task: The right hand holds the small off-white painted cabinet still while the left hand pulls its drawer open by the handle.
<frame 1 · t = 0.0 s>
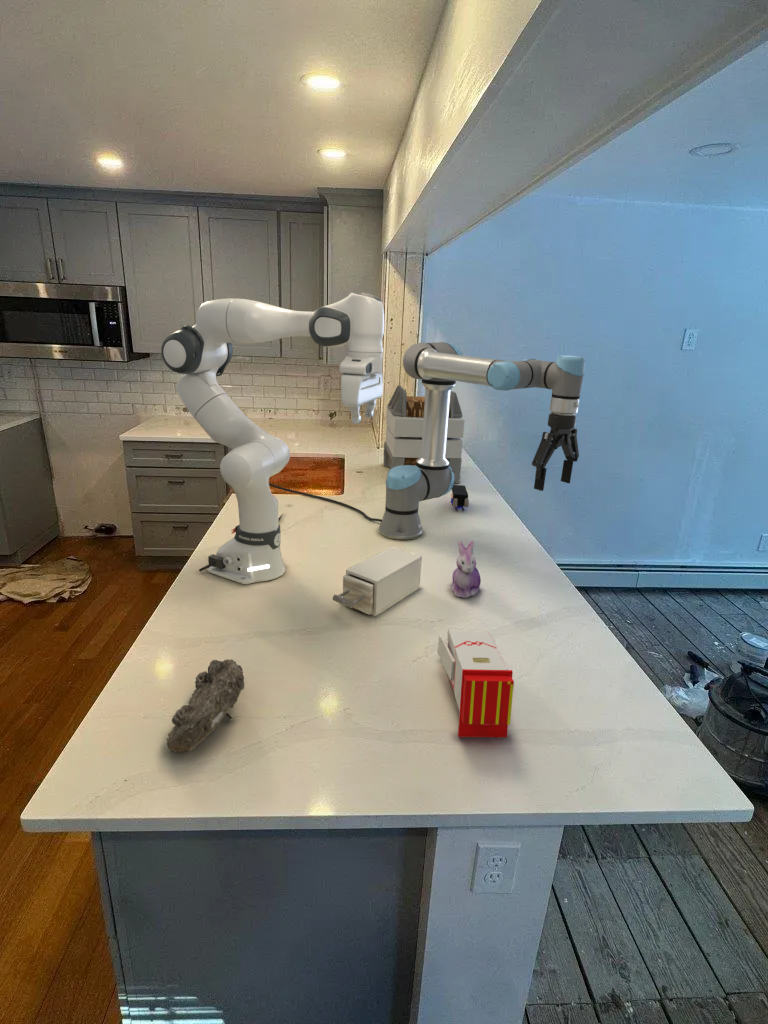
left hand: (362, 420, 143), 48 cm above the counter, tool pointing down, fingers open, 8 cm apart
right hand: (552, 485, 166), 28 cm above the counter, tool pointing down, fingers open, 13 cm apart
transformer: (419, 473, 275), on the counter
feather: (281, 517, 210), on the counter
figurine: (465, 591, 161), on the counter
figurine character: (458, 507, 230), on the counter
toy: (469, 691, 119), on the counter
cabinet: (383, 595, 157), on the counter
fossil: (212, 717, 108), on the counter
drawer: (372, 586, 151), point 5 cm above the counter, slide at 0.6 cm
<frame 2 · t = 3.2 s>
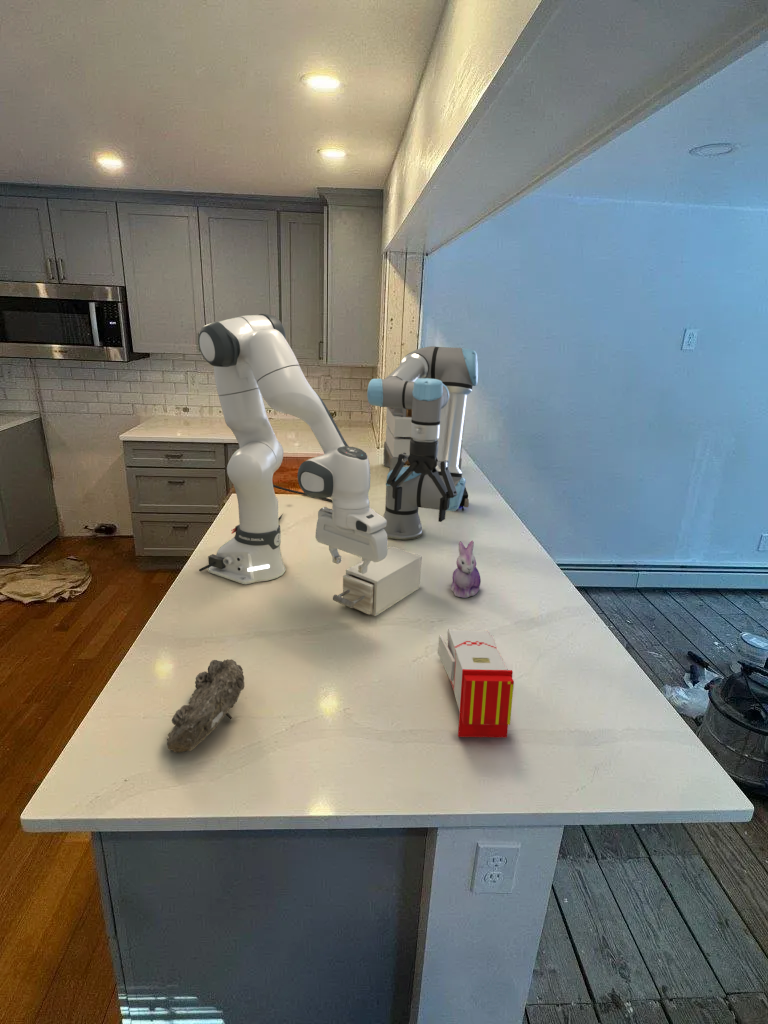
left hand: (349, 567, 140), 14 cm above the counter, tool pointing down, fingers open, 7 cm apart
right hand: (419, 515, 156), 22 cm above the counter, tool pointing down, fingers open, 13 cm apart
nothing on the counter moved.
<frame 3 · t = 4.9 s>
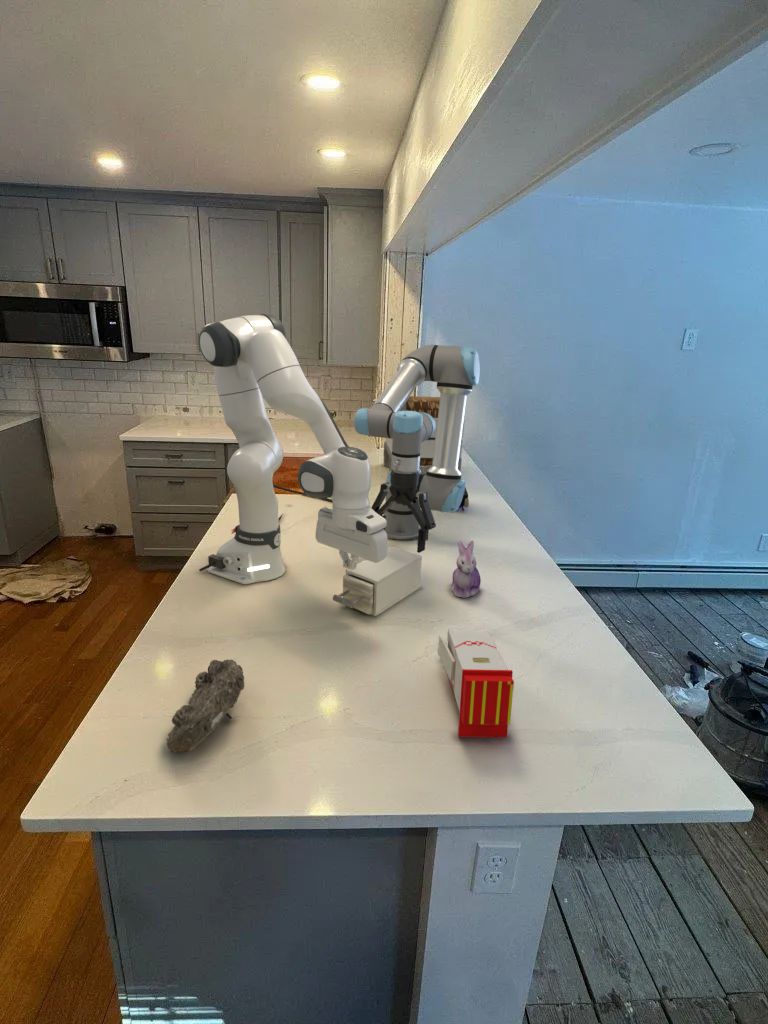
left hand: (349, 567, 140), 14 cm above the counter, tool pointing down, fingers closed
right hand: (400, 544, 157), 13 cm above the counter, tool pointing down, fingers open, 13 cm apart
nothing on the counter moved.
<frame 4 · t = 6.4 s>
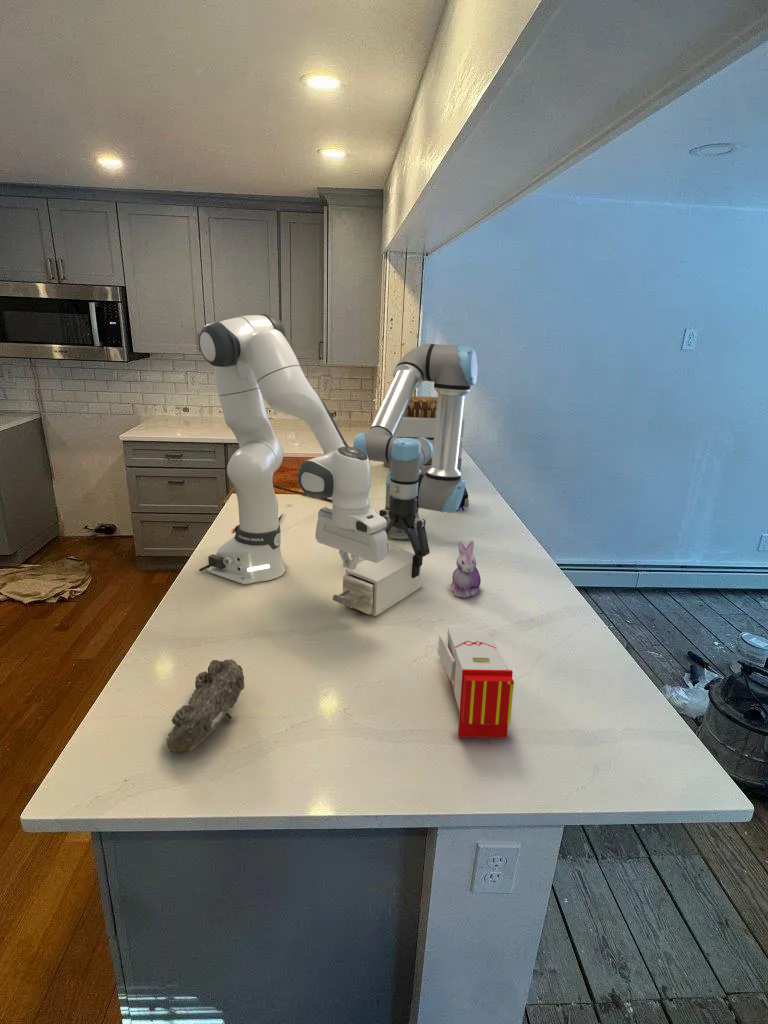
left hand: (349, 567, 140), 14 cm above the counter, tool pointing down, fingers closed
right hand: (399, 570, 160), 5 cm above the counter, tool pointing down, fingers closed on cabinet, 10 cm apart
cabinet: (383, 595, 157), on the counter, touching right hand
everything else where it was.
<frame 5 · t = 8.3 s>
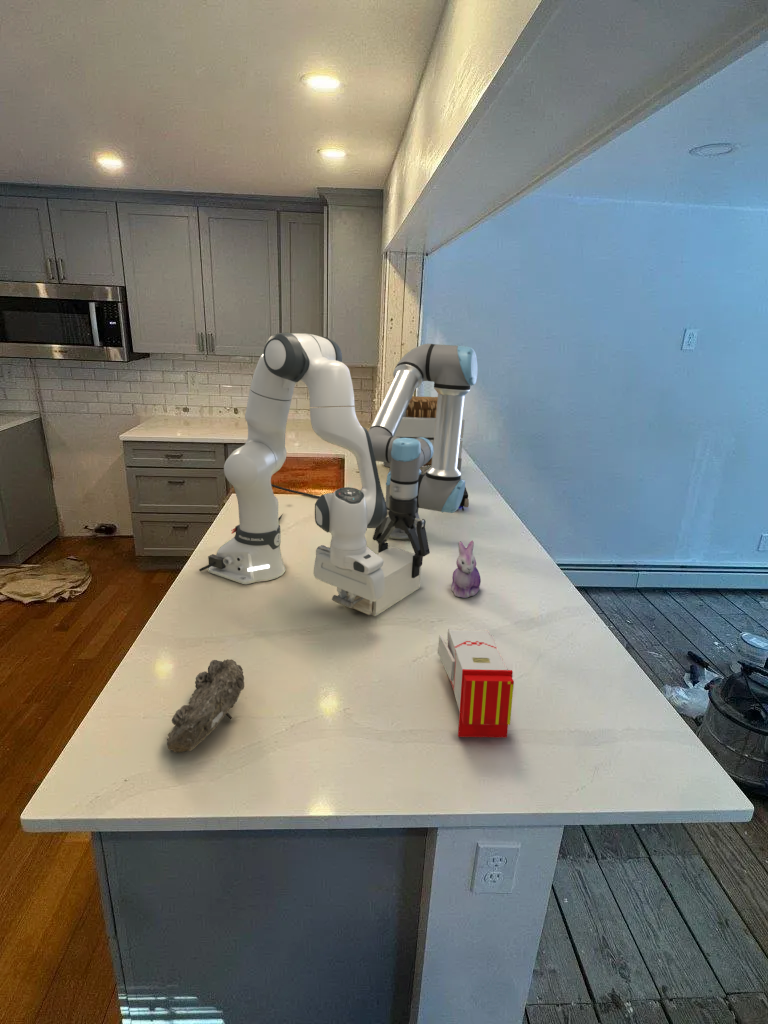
left hand: (347, 604, 143), 4 cm above the counter, tool pointing down, fingers closed, pressing on drawer
right hand: (399, 570, 160), 5 cm above the counter, tool pointing down, fingers closed on cabinet, 10 cm apart
cabinet: (383, 595, 157), on the counter, touching right hand
drawer: (371, 586, 151), point 5 cm above the counter, slide at 0.8 cm, touching left hand
everything else where it was.
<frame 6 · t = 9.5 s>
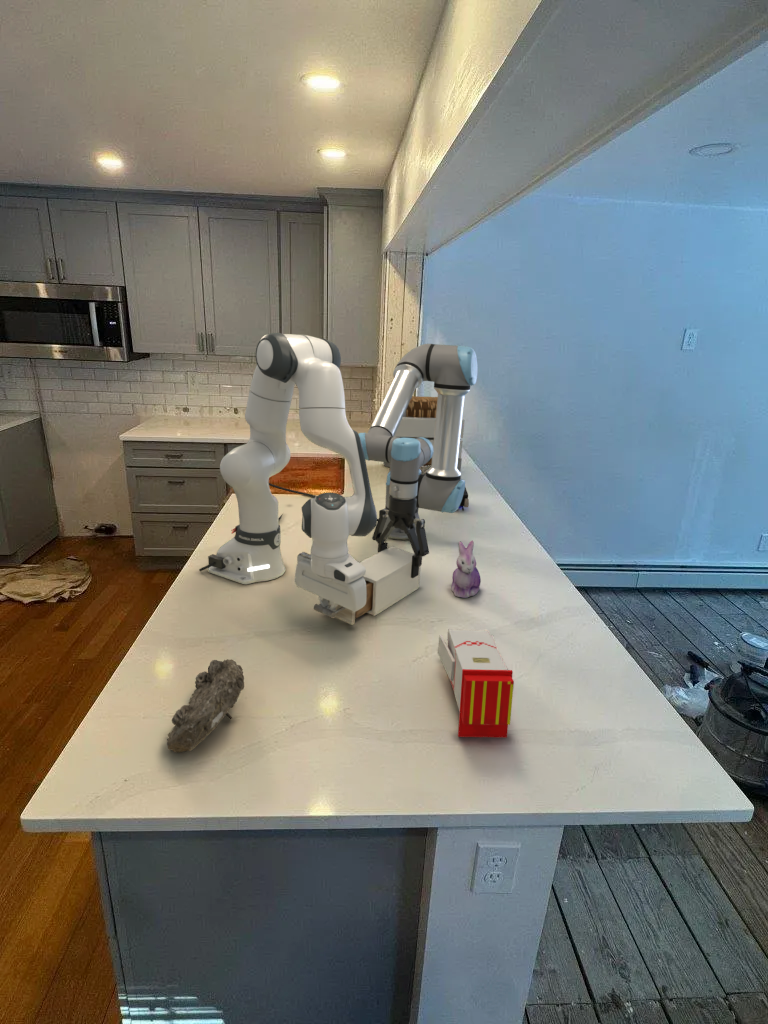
left hand: (328, 613, 138), 4 cm above the counter, tool pointing down, fingers closed, pressing on drawer
right hand: (398, 570, 160), 5 cm above the counter, tool pointing down, fingers closed on cabinet, 10 cm apart
cabinet: (382, 595, 157), on the counter, touching right hand
drawer: (355, 594, 146), point 5 cm above the counter, slide at 7.2 cm, touching left hand
everything else where it was.
when the right hand's fingers open (5 cm above the counter, at t = 11.1 s): cabinet stays where it is, on the counter.
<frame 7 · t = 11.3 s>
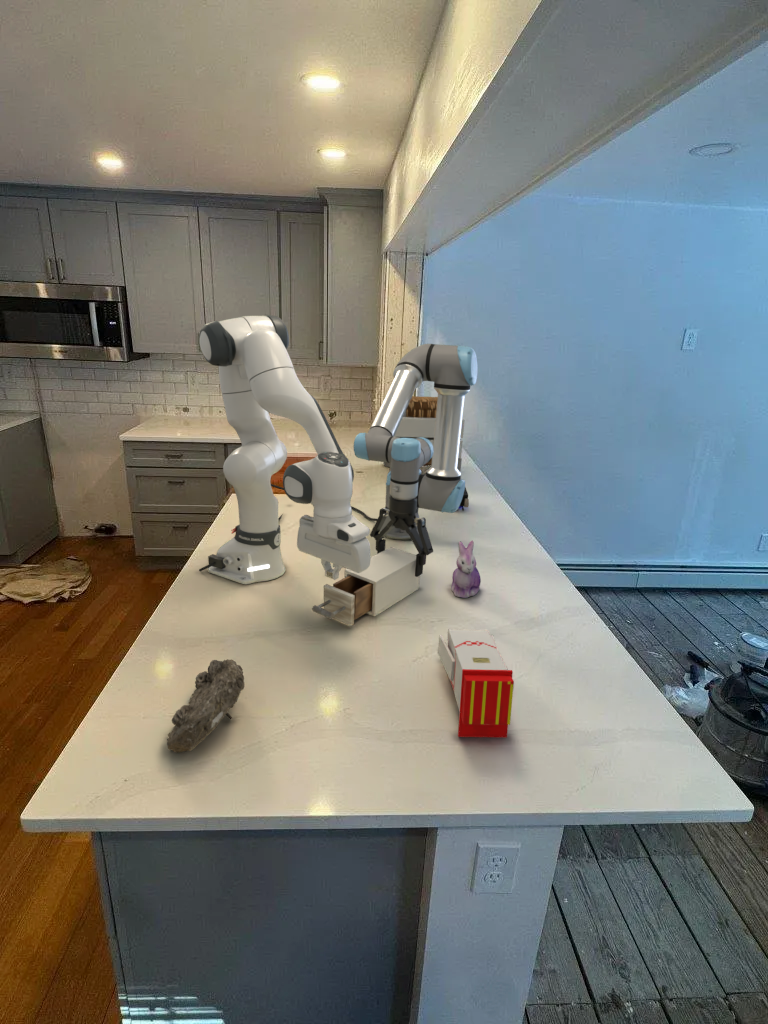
left hand: (331, 577, 135), 14 cm above the counter, tool pointing down, fingers closed
right hand: (399, 568, 160), 6 cm above the counter, tool pointing down, fingers open, 12 cm apart
cabinet: (382, 596, 156), on the counter
drawer: (354, 595, 145), point 5 cm above the counter, slide at 7.5 cm
everything else where it was.
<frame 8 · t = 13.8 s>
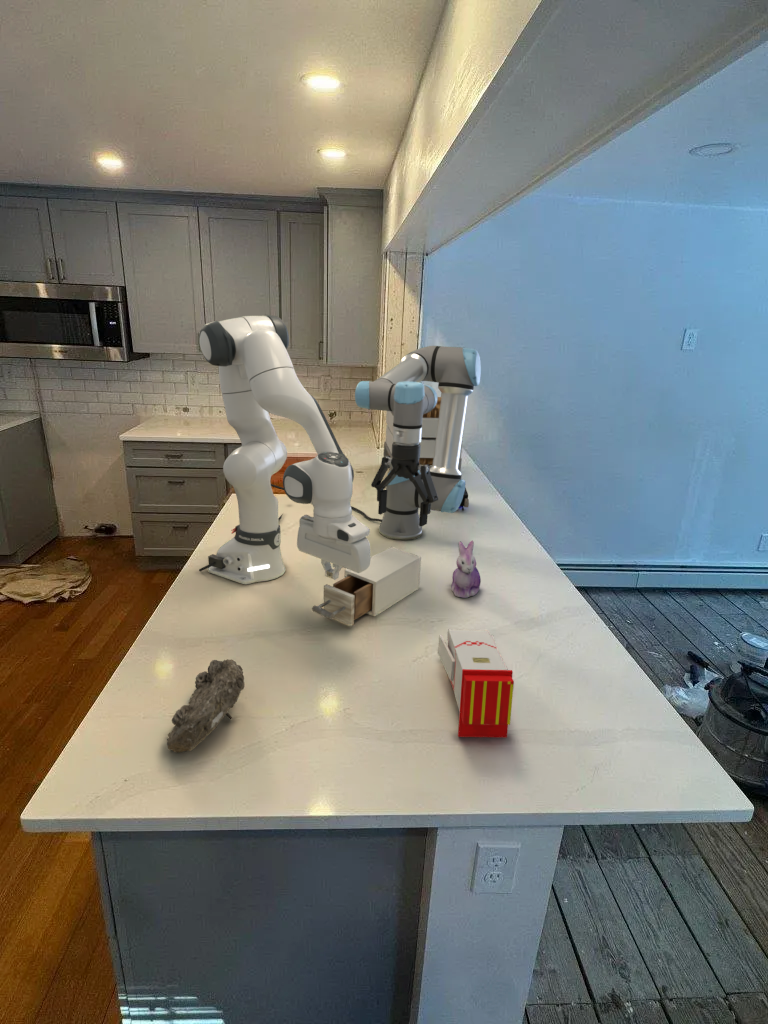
left hand: (331, 577, 135), 14 cm above the counter, tool pointing down, fingers closed
right hand: (402, 519, 155), 21 cm above the counter, tool pointing down, fingers open, 13 cm apart
nothing on the counter moved.
at the end: drawer slide at 7.5 cm; cabinet tilted 0°; cabinet never tilted more than 4° during the clip; cabinet moved 0.4 cm from its start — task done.
